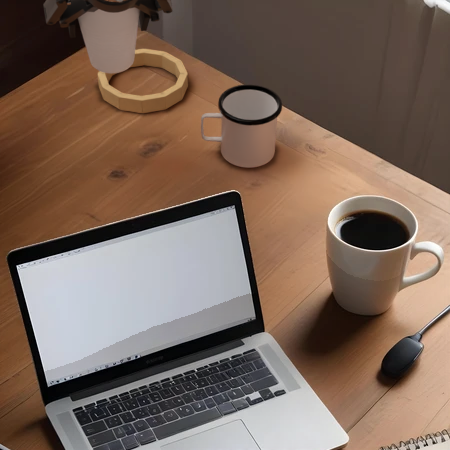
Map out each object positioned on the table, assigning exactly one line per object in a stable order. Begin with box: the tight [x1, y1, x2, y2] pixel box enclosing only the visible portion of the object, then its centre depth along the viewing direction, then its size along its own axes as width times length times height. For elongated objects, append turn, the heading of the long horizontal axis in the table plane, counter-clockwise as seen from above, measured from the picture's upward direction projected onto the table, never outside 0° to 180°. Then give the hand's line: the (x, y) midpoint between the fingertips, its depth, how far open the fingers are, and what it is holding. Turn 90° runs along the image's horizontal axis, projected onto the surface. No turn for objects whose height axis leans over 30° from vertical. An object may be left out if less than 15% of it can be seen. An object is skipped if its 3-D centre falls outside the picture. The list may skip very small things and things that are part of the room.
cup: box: [77, 8, 140, 74], centre depth 114 cm, size 10×10×11 cm
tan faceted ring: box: [97, 48, 189, 114], centre depth 139 cm, size 14×14×2 cm
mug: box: [200, 83, 283, 168], centre depth 126 cm, size 12×10×9 cm
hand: (107, 24), depth 117 cm, fingers closed on cup, 9 cm apart
